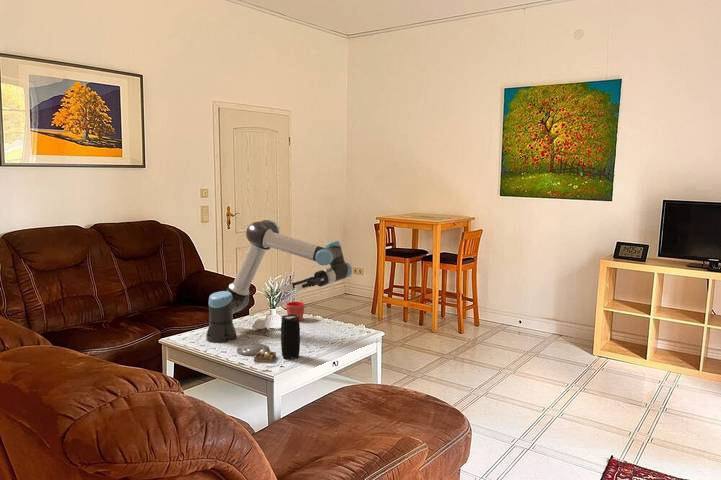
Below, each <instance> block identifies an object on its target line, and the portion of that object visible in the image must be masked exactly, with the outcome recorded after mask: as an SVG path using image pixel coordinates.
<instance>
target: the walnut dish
mask: <svg viewBox="0 0 721 480" xmlns="http://www.w3.org/2000/svg"><path fill="white" fill-rule="evenodd" d="M269 352H270V354H271V356H270V357H264V356H261V355H260V351H259V352H258V353H257V354H256V355H255V356H253V362H255V363H273V361H274V360H275V358H276V357H277V352H276V351H269Z"/></svg>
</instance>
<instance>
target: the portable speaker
mask: <svg viewBox="0 0 721 480" xmlns="http://www.w3.org/2000/svg"><path fill="white" fill-rule="evenodd" d="M300 348H301V328H300V321H299V317H298V316H297V315H296V314H289V315H288V314H286V315H282V316H281V325H280V349H281V355H282V358H283V359H284V360H286V361H287V360H288V361H290V360H291V359H293V358H295V359H299V358H300V351H301V349H300Z"/></svg>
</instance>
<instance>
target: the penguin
mask: <svg viewBox="0 0 721 480" xmlns="http://www.w3.org/2000/svg"><path fill="white" fill-rule="evenodd" d="M266 316H267V315H264V316H263V315H262V316H257V318H255V319H254V321H253V323H252V325H251V328H252V330H254V331H255V330H262V329H266V328H265V318H266Z"/></svg>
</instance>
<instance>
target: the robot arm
mask: <svg viewBox="0 0 721 480" xmlns="http://www.w3.org/2000/svg"><path fill="white" fill-rule="evenodd" d="M245 235H246V236H245V237H246V239H247V241H248V242H249V246H248V249H247V251H246V253H245V255H244V259H243V261H242V263H241V265H240V267H239V269H238V271H237V273H236V276H235V278H234V280H233V282H232V283H229V285H228V286H227V289H226V290H222V291H221V290H220V291H217V292H216V291H215V292H213V293H211V294H210V295H209V297H208V319H209V320H208V321H209V325H208V327H207V331H206V334H205V340H207V341H208V342H212V343H226V342H231V341H234V340H236V339H237V331H236V328H235V325H234V322H233V319H234V317H233V315H234V314H236V313H238V312H240V311H242V310H244V309H245V308H246V307H247V306H248V305H249V301H250V297H249V296H250V286H251V284H252V282H253V280H254V277H255V276H256V274H257V270H258V269H259V267H260V264H261V263H262V260H263V257H264V255H265V254H266V252H267V251H269V250H270V249H275V250H278V251H281V252H284V253H288V254H290V255H294V256H297V257H300V258H304V259H308V260H310V261H313V262H316V263H317V264H318V265H319V266H328V265H330V267H327V268H324V269H321V270H318V271H315V272H314V275H313V276H310V277H308V278H304V279H303V280H298V281H296V282H291V283H288V284H286V285H283V286H280V287H279V289H280V293H281V294H282V293H286V292H289V291H291V290H292V291H294V290H295V292H299V291H302V290H305V289H308V288H311V287H315V286H318V287H324V286H327V285H332V284H333V283H335V282H338V281H341V280H346V278H350V277H351V276H352V274H353V268H352V266H351V264H350V263H349V262H346V261H345V257H344V254H343V251H342V250H343V249H342V246H341V243H340V241H339V240H335V241H331V242H327V243H326V244H325V247H323V246H319V245H316V244H315V243H310V242H307V241H303V240H299V239H296V238H293V237H290V236H287V235H285V234H281V233H280V228H279V226H278V224H277V223H276V222H275V221H273V220H270V219H269V220H268V219H264V220H260V221H255V222H252V223H250V224H249V226H247V228H246V231H245Z"/></svg>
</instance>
